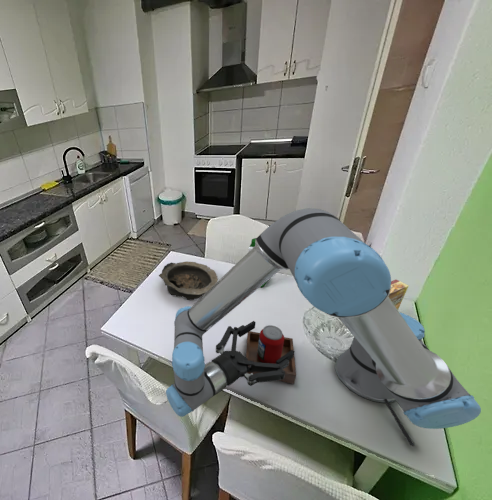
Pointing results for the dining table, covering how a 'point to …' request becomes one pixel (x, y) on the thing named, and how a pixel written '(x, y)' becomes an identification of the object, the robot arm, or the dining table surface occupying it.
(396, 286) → the candy box
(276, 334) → the beverage can
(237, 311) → the dining table surface
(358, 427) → the dining table surface
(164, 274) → the stone bowl
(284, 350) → the holder
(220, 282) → the robot arm
